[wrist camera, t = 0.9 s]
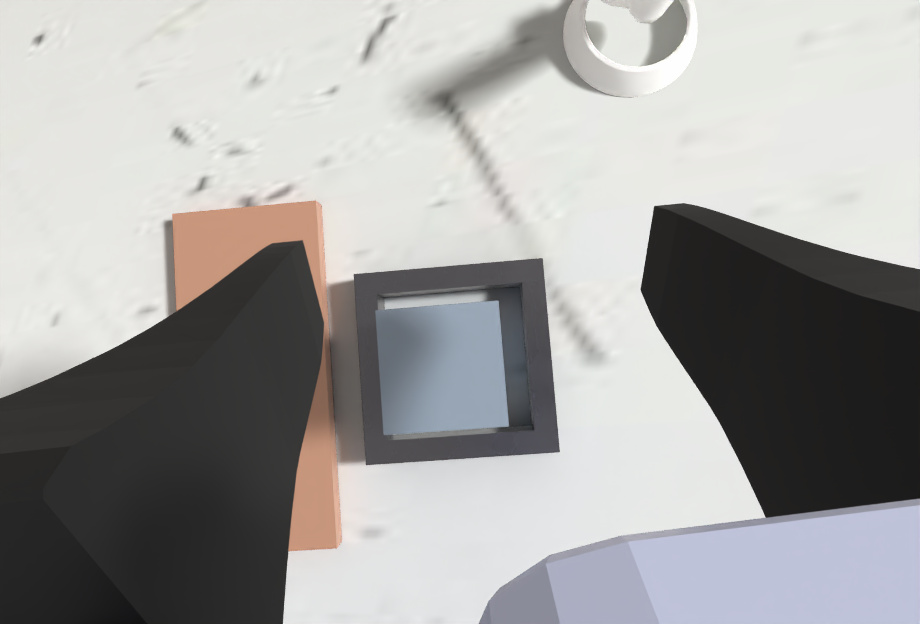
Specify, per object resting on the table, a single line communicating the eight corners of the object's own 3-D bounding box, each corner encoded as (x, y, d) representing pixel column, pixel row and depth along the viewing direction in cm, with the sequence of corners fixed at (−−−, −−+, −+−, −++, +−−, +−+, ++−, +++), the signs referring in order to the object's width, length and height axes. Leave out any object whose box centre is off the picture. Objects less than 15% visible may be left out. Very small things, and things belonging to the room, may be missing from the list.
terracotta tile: (341, 541, 24) (336, 548, 24) (196, 550, 25) (186, 557, 24) (321, 204, 26) (316, 200, 25) (182, 217, 26) (172, 213, 25)
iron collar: (555, 445, 24) (559, 452, 23) (373, 457, 25) (365, 464, 23) (539, 263, 25) (542, 258, 23) (361, 278, 25) (353, 274, 24)
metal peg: (502, 399, 24) (508, 426, 17) (417, 405, 25) (383, 435, 17) (495, 314, 25) (498, 300, 17) (411, 321, 25) (375, 310, 17)
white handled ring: (524, 115, 21) (536, -64, 18) (565, 84, 29) (578, -42, 26) (691, 126, 19) (734, -69, 16) (684, 90, 27) (713, -44, 24)
